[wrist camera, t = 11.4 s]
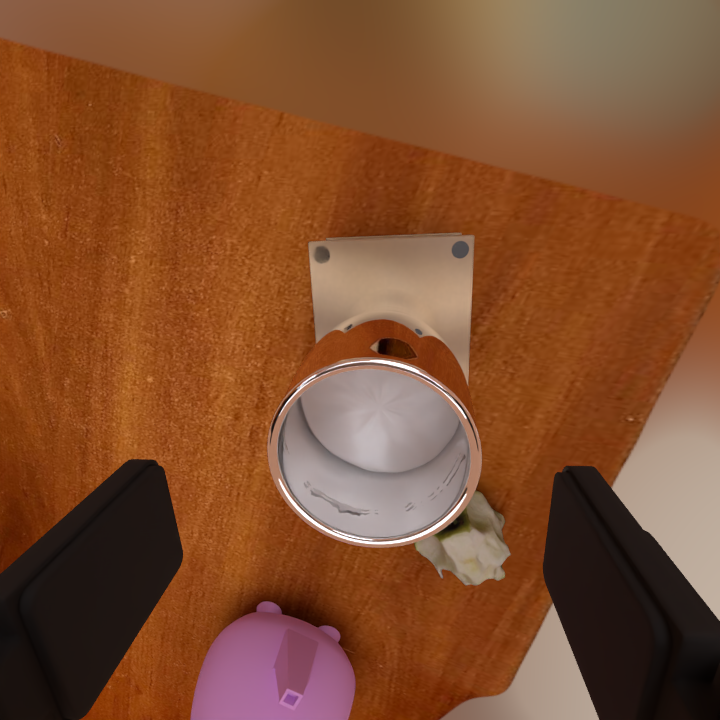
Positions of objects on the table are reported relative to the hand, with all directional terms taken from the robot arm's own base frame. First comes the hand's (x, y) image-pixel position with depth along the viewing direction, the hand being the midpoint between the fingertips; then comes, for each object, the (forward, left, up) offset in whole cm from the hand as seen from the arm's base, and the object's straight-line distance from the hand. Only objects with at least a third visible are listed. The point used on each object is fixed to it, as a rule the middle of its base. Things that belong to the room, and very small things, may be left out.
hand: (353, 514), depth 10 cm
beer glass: (0, 0, -18) cm, 18 cm away
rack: (0, 0, -27) cm, 27 cm away
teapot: (+39, -11, -27) cm, 49 cm away
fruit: (+21, +6, -27) cm, 35 cm away
